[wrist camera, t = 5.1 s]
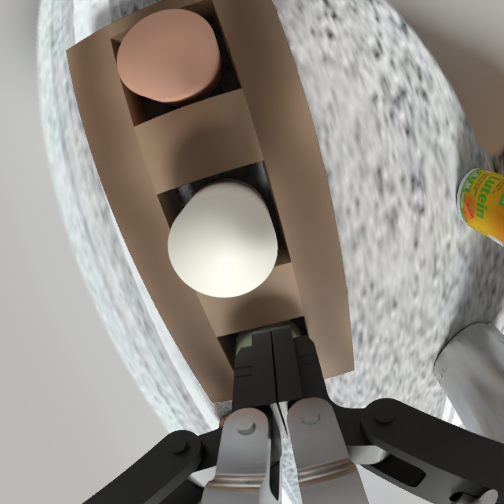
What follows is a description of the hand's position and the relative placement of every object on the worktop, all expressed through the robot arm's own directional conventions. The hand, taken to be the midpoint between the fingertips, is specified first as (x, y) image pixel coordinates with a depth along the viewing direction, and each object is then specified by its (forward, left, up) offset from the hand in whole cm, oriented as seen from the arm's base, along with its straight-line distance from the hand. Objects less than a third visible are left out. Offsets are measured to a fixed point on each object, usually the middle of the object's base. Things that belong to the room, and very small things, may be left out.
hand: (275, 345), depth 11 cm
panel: (+1, -3, -11) cm, 11 cm away
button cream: (+1, -3, -8) cm, 9 cm away
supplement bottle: (-20, +1, -11) cm, 22 cm away
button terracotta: (+1, -13, -10) cm, 16 cm away
